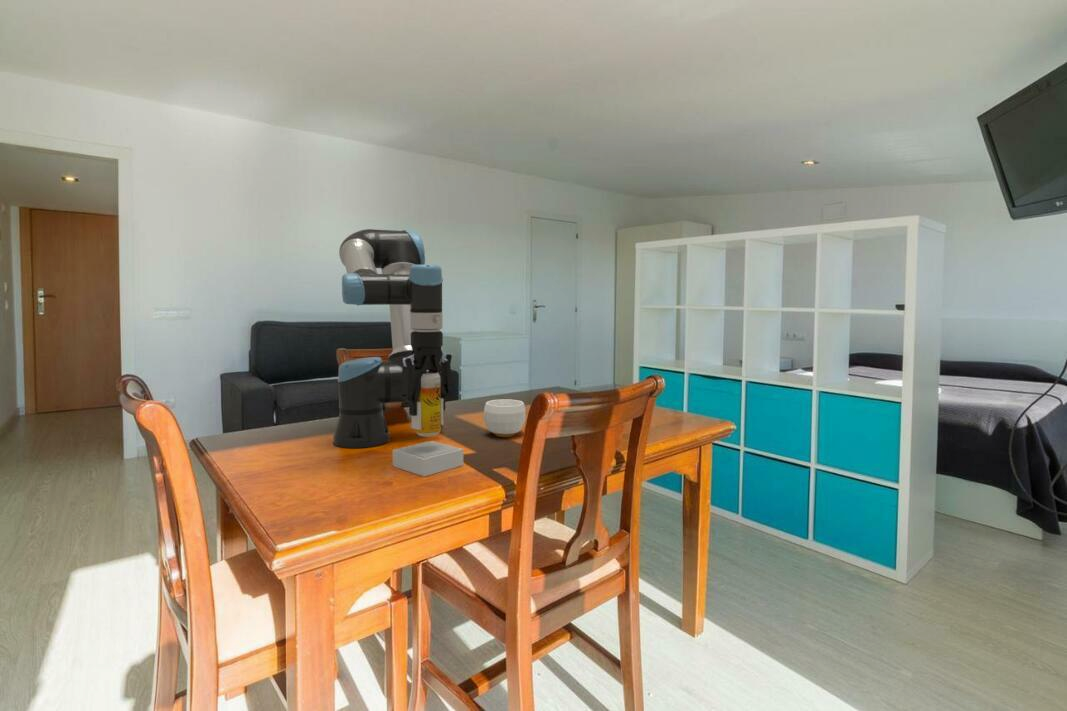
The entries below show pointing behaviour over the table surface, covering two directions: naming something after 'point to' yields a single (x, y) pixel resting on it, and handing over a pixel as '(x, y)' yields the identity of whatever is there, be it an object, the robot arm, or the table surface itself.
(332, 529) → the table surface
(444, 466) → the pedestal
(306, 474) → the table surface
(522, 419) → the cup
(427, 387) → the yellow labeled bottle
